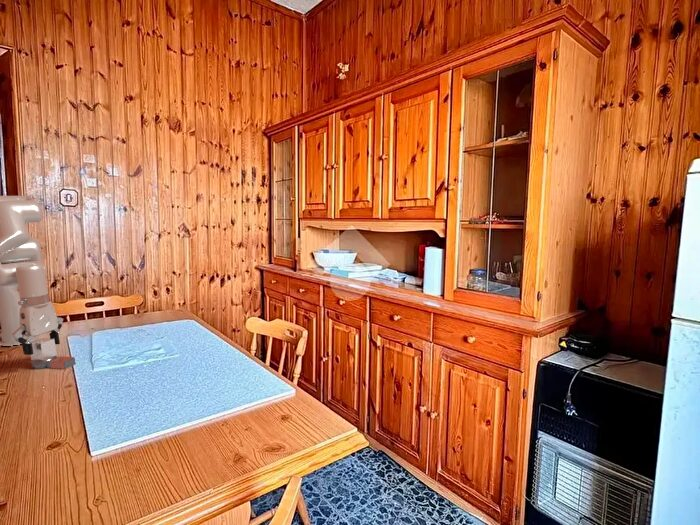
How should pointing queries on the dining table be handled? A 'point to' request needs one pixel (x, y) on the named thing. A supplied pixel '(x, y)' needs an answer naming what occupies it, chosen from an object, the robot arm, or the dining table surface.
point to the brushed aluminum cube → (43, 349)
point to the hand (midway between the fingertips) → (42, 349)
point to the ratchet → (54, 363)
